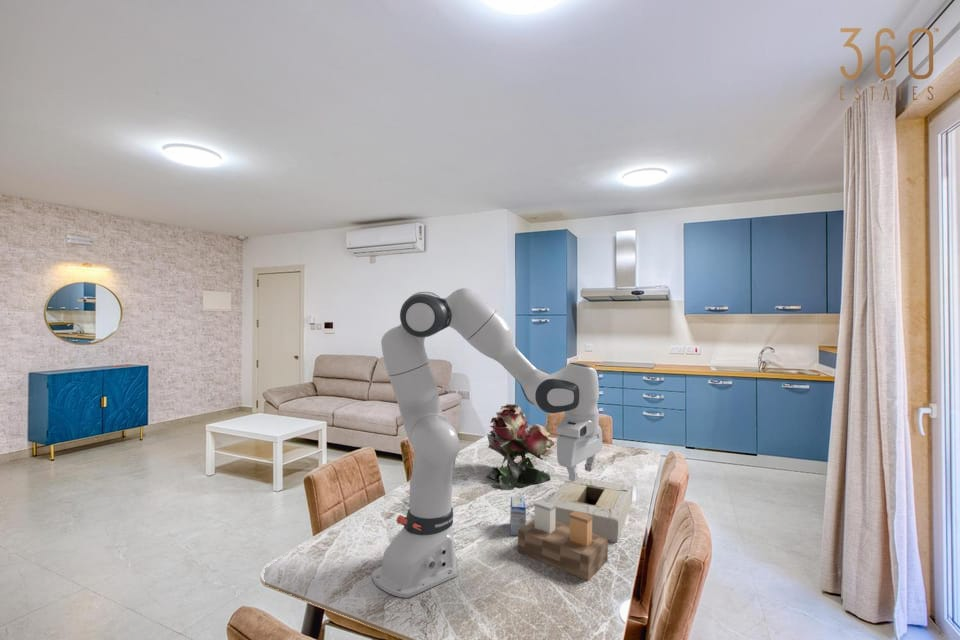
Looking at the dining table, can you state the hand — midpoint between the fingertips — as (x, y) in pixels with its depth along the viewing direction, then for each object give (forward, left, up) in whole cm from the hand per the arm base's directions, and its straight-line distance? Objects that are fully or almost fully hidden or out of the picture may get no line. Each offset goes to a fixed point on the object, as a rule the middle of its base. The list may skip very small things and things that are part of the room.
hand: (581, 475), depth 116 cm
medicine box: (+5, +23, -24) cm, 34 cm away
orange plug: (0, 0, -21) cm, 21 cm away
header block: (0, +5, -23) cm, 24 cm away
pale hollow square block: (+30, +11, -24) cm, 40 cm away
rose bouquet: (+44, +51, -24) cm, 71 cm away
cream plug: (0, +11, -21) cm, 24 cm away
